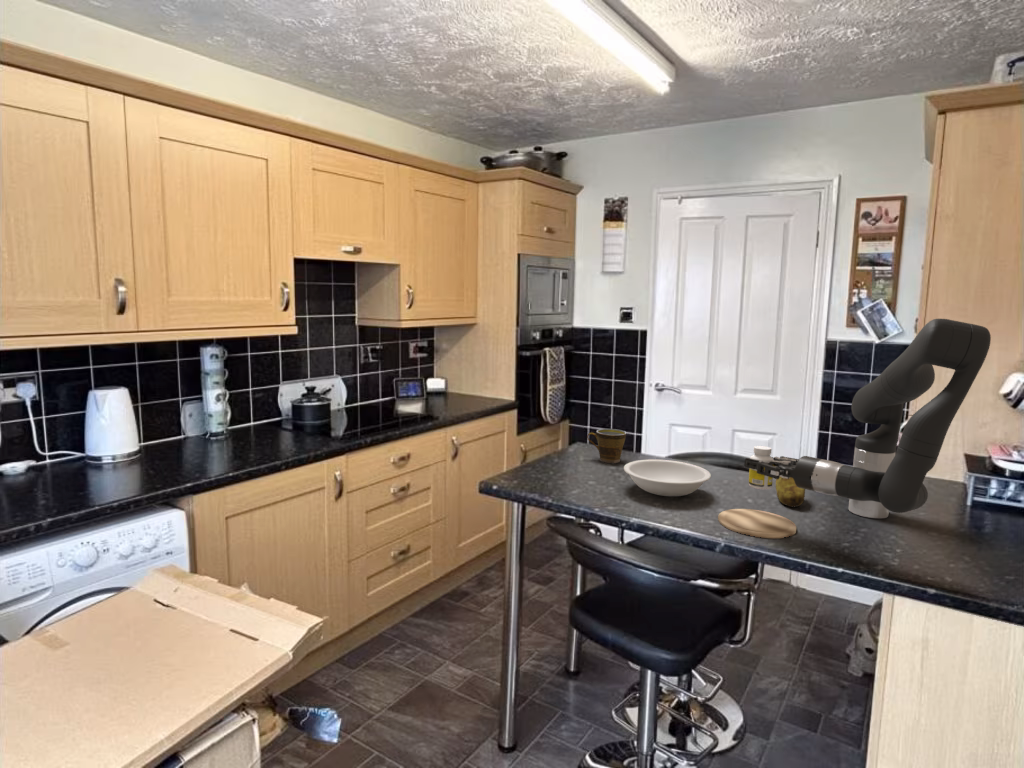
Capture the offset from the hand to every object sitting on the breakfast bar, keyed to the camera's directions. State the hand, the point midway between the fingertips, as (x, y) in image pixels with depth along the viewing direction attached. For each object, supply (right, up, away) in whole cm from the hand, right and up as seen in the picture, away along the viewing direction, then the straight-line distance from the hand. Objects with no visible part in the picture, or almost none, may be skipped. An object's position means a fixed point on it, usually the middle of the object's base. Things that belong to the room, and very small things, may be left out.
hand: (752, 460), depth 152 cm
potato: (+17, -14, +18) cm, 29 cm away
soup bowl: (-16, -12, +24) cm, 31 cm away
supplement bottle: (+1, -6, -1) cm, 7 cm away
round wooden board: (+1, -16, 0) cm, 16 cm away
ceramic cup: (-28, -7, +58) cm, 64 cm away
